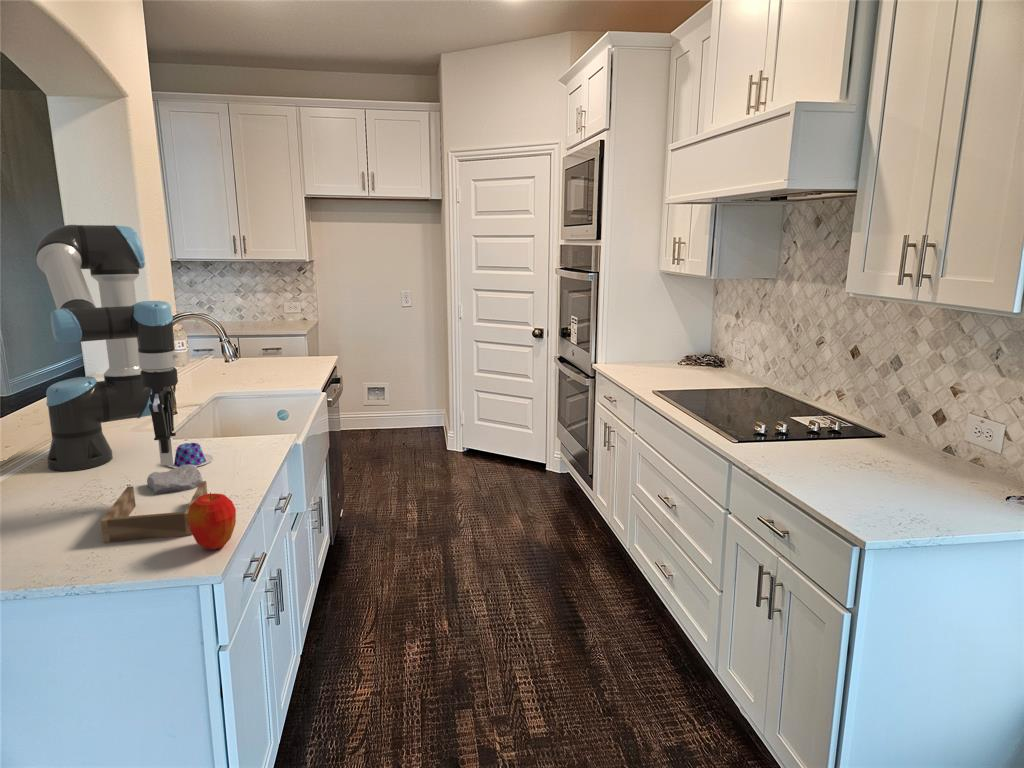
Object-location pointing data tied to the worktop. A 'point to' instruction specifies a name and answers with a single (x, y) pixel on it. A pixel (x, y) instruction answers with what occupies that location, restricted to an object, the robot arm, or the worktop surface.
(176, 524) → the cubby
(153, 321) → the robot arm
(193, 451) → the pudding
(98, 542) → the worktop surface
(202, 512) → the apple
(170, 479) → the stone block
